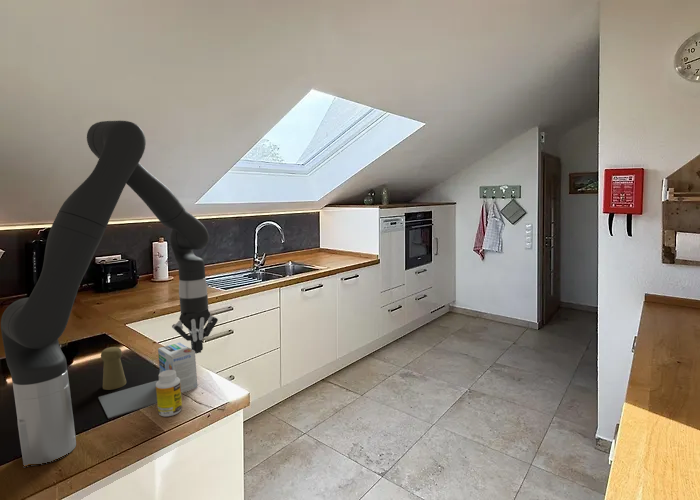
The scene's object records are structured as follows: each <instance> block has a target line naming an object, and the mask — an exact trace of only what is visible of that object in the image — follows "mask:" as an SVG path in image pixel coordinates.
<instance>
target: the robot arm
mask: <svg viewBox="0 0 700 500" xmlns="http://www.w3.org/2000/svg"><path fill="white" fill-rule="evenodd" d="M86 141H87V145H88V148H89V149H90V151H91V152H92V153H93V154H94V156H95V157H96V158H97V159H98V160H97V163H96V165H95V167H94V169H93V170H92V172H91V173H90V174H89V176H87V178H86V179H85V180H84V181H83V182H82V183H81V184H80V185H79V186H78V187H77V188H76V189H74V191H73V192H71V194H70V195H69V196H68V197H67V198H66V199H65V201H64V202H63V203H62V205H61V207H60V208H59V210H58V212H57V214H56V215H55V218H54V220H53V223H52V225H51V227H50V229H49V232H48V235H47V238H46V243H45V249H44V256H43V263H42V268H41V272H40V274H39V275H40V276H39V278H38V280H37V282H36V284H35V285H34V287H33V289H32V292H31V293H30V295H29V297H22V298H20V299H17V300H15V301H13V302H12V303H10V304H9V305H8V306H7V307H6V308H5V309H4V312H3V313H2V315H1V319H0V330H1V337H2V344H3V349H4V355H5V361H6V364H7V367H8V370H9V372H10V377H11V381H12V388H13V396H14V402H15V403H14V404H15V411H16V417H17V428H18V436H19V444H20V449H21V450H20V451H21V455H22V464H23V465H24V466H25V465H28V464H41V465H43V464H42V463H46V464H48V463H47V462H50V463H52V462H54V461H53V460H55V459H58V458H60V457H62V456H64V455H66V454H67V455H69V454H70V453H71V452H73V450H75V448H76V446H77V441H76V440H77V439H76V431H75V421H74V414H73V405H72V398H71V388H70V381H69V373H68V372H69V371H68V364H67V358H66V356H65V354H64V353H63V351H62V348H61V346H60V343H59V342H60V341H59V338H60V337H61V336H62V334H64V332H65V330H66V328H67V326H68V325H67V324H68V323H69V320H70V317H71V313H72V310H73V307H74V303H75V300H76V297H77V295H78V292H79V291H78V290H79V288H80V285H81V283H82V281H83V279H84V277H85V275H86V273H87V271H88V268H89V266H90V264H91V262H92V260H93V257H94V255H95V254H96V253H95V252H96V251H97V249H98V247H99V245H100V242H101V241H102V238H103V237H104V233H105V231H106V229H107V227H108V225H109V221H110V219H111V217H112V214H113V212H114V211H115V208H116V206H117V204H118V201H119V199H120V198H121V195H122V192H123V191H124V189H125V187H126V185H128V187H129V188H130V189H131V190H133V192H134V193H135V194H136V195H137V196H138V197H139V198H140V199H141V200H142V201H143V203H145V205H146V206H147V207H148V209H149V210H150V211H151V212H152V214H153V215H154V216H155V217H156V218H157V219H158V221H159V222H160V223H161V225H163V226H164V227H165V228H168V229H171V232H170V233H169V243H170V246H171V250H172V253H173V255H174V259H175V261H176V263H177V266H178V267H177V268H178V296H179V308H180V309H179V310H180V315H179V318H178V319H179V320H178V321H177V322H176V323H173V324H172V325H171V328H172V329H173V330H174V331H176V332H177V333H178V334H179V335H180V336H181V337H182V338H183V339H184V340H186V341H187V342H190V344H191V345H190V347H191V349H192V350H194V351H195V355H197V354H200V353H202V351H203V349H204V347H203V346H204V345H203V343H204V342H203V340H204V338H206V337H209V335H210V334H211V332H212V331H213V329H214V328H215V326H216V324H217V323H218V320H219V319H218V318H217V317H216V316H213V315H211V312H210V311H209V296H208V284H207V279H206V278H207V277H206V269H205V268H206V265H205V264H206V263H205V261H204V259H203V258H202V257H199V256H198V255H197V256H196V255H195V253H194V251H195V250H197V251H198V250H202V249H205V248H206V247H207V245H208V244H209V240H210V235H209V232H208V229H207V228H206V226H205V225H204V224H203V223H202V222H201V220H199V219H198V218H197V217H195V216H194V215H193V214H192V213H191V212H189V211H188V210H186V208H185V207H184V206H183V204H182V203H181V202H180V200H179V199H178V198H177V196H176V195H175V193H173V191H172V190H171V189H170V188H169V187H168V186H167V185H165V184H164V183H163V182H162V181H160V180H159V179H158V178H157V177H156V176H155V175H153V174H152V173H151V172H150V171H148V170H147V169H146V168H145V167H144V166H143V165H142V163H141V162H140V161H141V159H142V157H143V156H144V153H145V150H146V142H147V140H146V136H145V133H144V130H143V129H142V128H141V127H140V125H138V124H137V123H134V122H132V121H128V120H102V121H97V122H95V123H94V124H92V125H91V126H90V127H89V128H88V130H87V132H86ZM184 327H185V328H186V329H188V333H189V334H187V333H186V332H185V331H184V330H183V329H184ZM68 453H69V454H68ZM67 455H66V456H67ZM64 457H65V456H64ZM62 458H63V457H62ZM60 459H61V458H60ZM58 460H59V459H58ZM51 461H52V462H51ZM55 461H56V460H55ZM24 466H23V467H24Z"/></svg>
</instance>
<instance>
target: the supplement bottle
mask: <svg viewBox="0 0 700 500" xmlns="http://www.w3.org/2000/svg"><path fill="white" fill-rule="evenodd" d="M176 376H177V375H176V371H175V370H166V371H163V372H161V373H160V372H159V373H158V380H156V381H157V383H156V393H157V412H158V414H159V416H161V417H165V418H166V417H172V416H174V415H177V414H179V413H180V412H181V411H182V410H183V409H182V408H183V402H182V393H181V386H180V379H179V378H178V377H176Z"/></svg>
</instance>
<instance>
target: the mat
mask: <svg viewBox="0 0 700 500" xmlns="http://www.w3.org/2000/svg"><path fill="white" fill-rule="evenodd" d="M157 381H158V380H154V381H150V382H146V383H144V384H140V385H136V386H132V387H129V388H125V389H122V390H119V391H115V392H112V393H111V392H110V393H108V394H104V395H100V396H98V397H97V399H98V400H99V403H100V404H101V406H102V407H101V408H102V409H103V411H104V413H105V415H106V417H107V419H112V418H116V417H118V416H121V415H125V414H128V413H131V412H134V411H137V410H140V409H144V408H147V407H151V406H154V405H156V404H157V393H156V383H157Z"/></svg>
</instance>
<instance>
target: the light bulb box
mask: <svg viewBox="0 0 700 500" xmlns="http://www.w3.org/2000/svg"><path fill="white" fill-rule="evenodd" d="M157 351H158V352H157V353H158V365H159V373H161V372H163V371H166V370H175V371H176V375H177V376H176V377H178V378H179V379H180V386H181V394H182V393H185V392H188V391H190V390H194V389H197V388H198V374H197V373H198V372H197V361H196V353H195V351H194V350H192V349H191V348H190V347H189V346H187V345H185V344H184V343H182V342H176V343H173V344H169V345H166V346H162V347H158V348H157Z"/></svg>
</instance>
